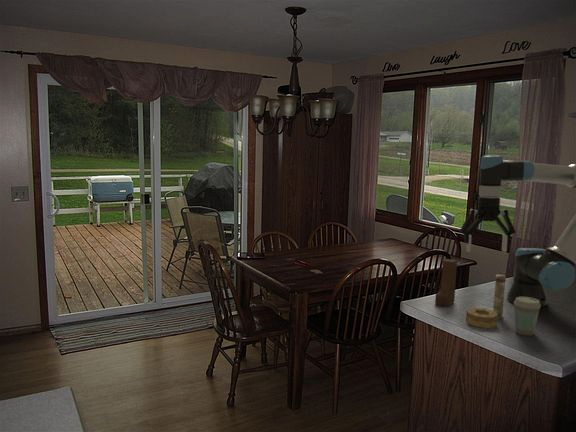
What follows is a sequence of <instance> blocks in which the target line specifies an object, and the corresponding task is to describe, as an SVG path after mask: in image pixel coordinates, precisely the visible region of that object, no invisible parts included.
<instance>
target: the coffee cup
mask: <svg viewBox="0 0 576 432" xmlns="http://www.w3.org/2000/svg"><path fill="white" fill-rule="evenodd" d="M513 305H514V322H515V323H514V324H515V330H514V331H515V333H517V334H519V335H522V336H526V337H527V336H534V334H535V330H536V327H537V326H536V325H537V320H538V317H539V313H540V309H541V308H542V307H541V305H540V302H539V300H537V299H534V298H531V297H517V298H516V299H515V301H514V303H513Z"/></svg>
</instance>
